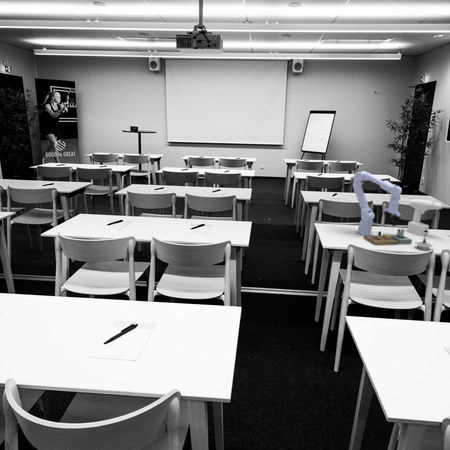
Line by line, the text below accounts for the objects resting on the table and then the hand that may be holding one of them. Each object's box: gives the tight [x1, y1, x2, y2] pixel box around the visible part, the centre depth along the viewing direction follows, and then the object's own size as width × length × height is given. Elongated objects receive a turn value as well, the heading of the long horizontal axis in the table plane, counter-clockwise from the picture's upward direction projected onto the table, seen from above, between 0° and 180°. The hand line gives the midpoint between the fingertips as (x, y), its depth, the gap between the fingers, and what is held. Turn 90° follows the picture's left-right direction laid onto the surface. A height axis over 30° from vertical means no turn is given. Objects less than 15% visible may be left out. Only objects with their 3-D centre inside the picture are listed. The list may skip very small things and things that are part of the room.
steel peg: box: [396, 228, 405, 238], centre depth 267 cm, size 4×4×8 cm
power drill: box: [407, 198, 444, 237], centre depth 284 cm, size 8×24×25 cm, turn 27°
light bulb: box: [414, 230, 433, 251], centre depth 254 cm, size 12×10×10 cm
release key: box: [382, 233, 392, 239], centre depth 266 cm, size 4×4×4 cm
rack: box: [389, 233, 413, 245], centre depth 268 cm, size 12×9×3 cm
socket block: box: [363, 234, 398, 246], centre depth 265 cm, size 14×16×2 cm
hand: (390, 224), depth 269 cm, fingers open, 7 cm apart
